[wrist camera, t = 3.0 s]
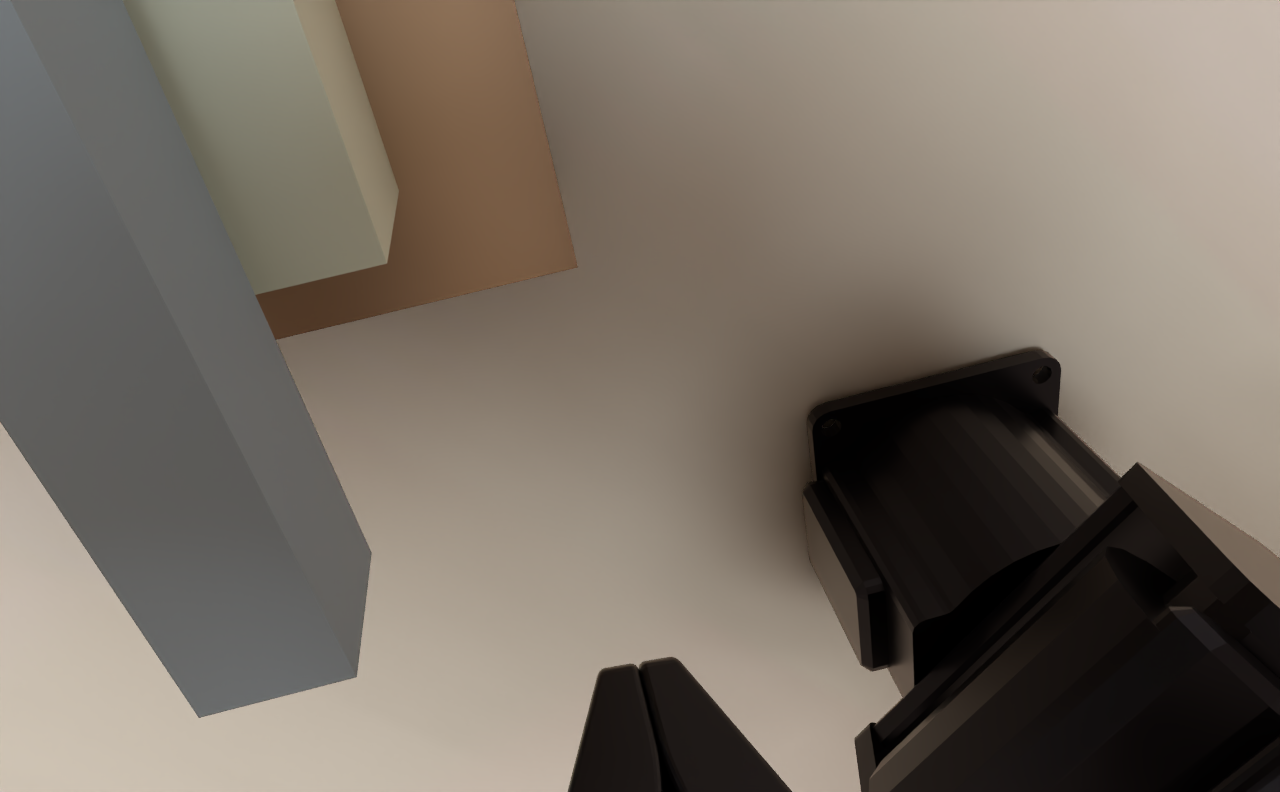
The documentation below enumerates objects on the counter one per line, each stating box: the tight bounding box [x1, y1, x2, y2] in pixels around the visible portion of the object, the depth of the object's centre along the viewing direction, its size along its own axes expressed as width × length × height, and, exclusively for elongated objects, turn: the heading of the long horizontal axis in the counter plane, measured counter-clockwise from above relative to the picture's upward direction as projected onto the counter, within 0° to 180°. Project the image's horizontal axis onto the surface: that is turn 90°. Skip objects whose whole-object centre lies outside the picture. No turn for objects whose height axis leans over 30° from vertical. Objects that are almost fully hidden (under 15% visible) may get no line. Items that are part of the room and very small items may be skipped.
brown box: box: [255, 0, 578, 340], centre depth 15 cm, size 10×10×4 cm
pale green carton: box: [122, 0, 399, 295], centre depth 12 cm, size 5×6×3 cm
